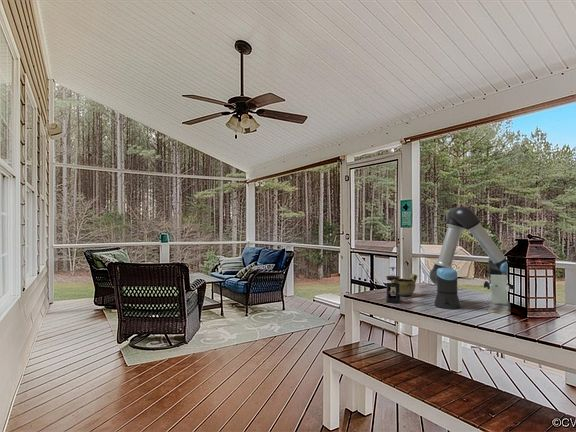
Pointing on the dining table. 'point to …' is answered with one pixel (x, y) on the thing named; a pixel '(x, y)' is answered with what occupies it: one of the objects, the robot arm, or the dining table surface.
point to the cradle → (499, 308)
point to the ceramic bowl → (405, 285)
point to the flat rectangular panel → (499, 289)
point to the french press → (393, 298)
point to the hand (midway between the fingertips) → (499, 288)
